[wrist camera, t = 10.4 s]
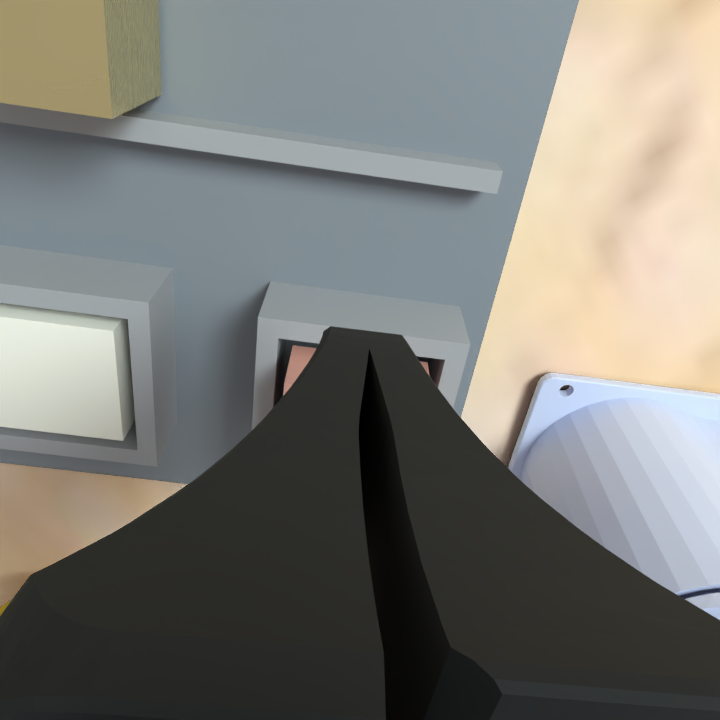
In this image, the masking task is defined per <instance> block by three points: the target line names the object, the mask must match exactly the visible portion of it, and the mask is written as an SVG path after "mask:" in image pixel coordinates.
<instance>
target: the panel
mask: <svg viewBox="0 0 720 720" xmlns="http://www.w3.org/2000/svg"><path fill="white" fill-rule="evenodd" d="M578 1H579V0H159V30H160V60H161V90H162V94H161V95H159V96H157V97H155V98H153V99H151V100H149V101H147V102H145V103H143V104H141V105H139V106H137V107H135V108H133V109H131V110H129V111H127V112H125V113H123V114H121V115H119V116H117V117H115V118H113V119H108V118H101V117H95V116H88V115H81V114H74V113H67V112H61V111H54V110H47V109H40V108H33V107H26V106H20V105H13V104H6V103H0V303H6V304H14V305H22V306H29V307H37V308H45V309H53V310H61V311H68V312H76V313H84V314H92V315H100V316H107V317H115V318H123V319H128V329H129V342H130V356H131V369H132V383H133V396H134V409H135V420H134V422H133V424H132V426H131V428H130V430H129V431H128V433H127V435H126V437H125V439H124V440H123V441H119V440H111V439H102V438H94V437H85V436H76V435H68V434H59V433H51V432H42V431H34V430H25V429H17V428H8V427H0V463H9V464H18V465H27V466H36V467H44V468H53V469H62V470H71V471H80V472H88V473H97V474H106V475H115V476H124V477H132V478H141V479H150V480H159V481H168V482H176V483H185V484H189V483H190V482H192V481H193V480H194V479H196V478H197V477H198V476H200V475H201V474H202V473H204V472H205V471H206V470H207V469H208V468H210V467H211V466H212V465H213V464H215V463H216V462H217V461H218V460H220V459H221V458H222V457H223V456H224V455H226V454H227V453H228V452H229V451H230V450H231V449H233V448H234V447H235V446H236V445H237V444H238V443H239V442H240V441H241V440H242V439H243V438H245V437H246V436H247V435H248V434H249V433H250V432H251V431H252V430H253V429H254V428H255V427H256V426H257V425H258V424H259V423H260V422H261V421H262V420H263V419H264V418H265V416H266V415H267V414H268V413H269V412H270V411H271V410H272V408H273V407H274V406H275V405H276V404H277V403H278V402H279V400H280V399H281V398H282V397H283V392H284V382H285V378H286V373H287V369H288V364H289V360H290V356H291V351H292V347H293V345H296V346H303V347H311V348H317V347H318V345H319V343H320V340H321V338H322V335H323V331H325V330H326V329H327V328H329V327H330V326H334V327H342V328H350V329H358V330H367V331H375V332H383V333H391V334H399V335H402V336H403V337H404V338H405V340H406V341H407V343H408V344H409V346H410V347H411V349H412V350H413V352H414V353H415V355H416V357H417V358H418V360H419V361H421V362H428V369H429V375H430V378H431V379H432V380H433V382H434V383H435V385H436V386H437V387H438V389H439V390H440V392H441V393H442V394H443V396H444V397H445V398H446V400H447V401H448V402H449V404H450V405H451V406H452V408H453V409H454V410H455V412H456V413H457V414H458V415H459V416H460V418H461V414H462V411H463V407H464V404H465V400H466V397H467V393H468V390H469V386H470V383H471V379H472V376H473V372H474V368H475V365H476V361H477V358H478V354H479V351H480V347H481V344H482V340H483V337H484V333H485V330H486V326H487V323H488V319H489V316H490V312H491V308H492V305H493V301H494V298H495V294H496V291H497V287H498V284H499V280H500V277H501V273H502V270H503V266H504V263H505V259H506V255H507V252H508V248H509V245H510V241H511V238H512V234H513V231H514V227H515V224H516V220H517V217H518V213H519V210H520V206H521V203H522V199H523V195H524V192H525V188H526V185H527V181H528V178H529V174H530V171H531V167H532V164H533V160H534V157H535V153H536V150H537V146H538V143H539V139H540V135H541V132H542V128H543V125H544V121H545V118H546V114H547V111H548V107H549V104H550V100H551V97H552V93H553V90H554V86H555V83H556V79H557V75H558V72H559V68H560V65H561V61H562V58H563V54H564V51H565V47H566V44H567V40H568V37H569V33H570V30H571V26H572V23H573V19H574V15H575V12H576V8H577V5H578Z"/></svg>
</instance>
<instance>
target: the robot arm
mask: <svg viewBox="0 0 720 720" xmlns="http://www.w3.org/2000/svg"><path fill="white" fill-rule="evenodd" d="M564 385H570V387H569V388H568V389H566V390H562V391H561V390H560V388H561V387H562V386H564ZM0 720H720V394H716V393H709V392H701V391H693V390H685V389H677V388H670V387H662V386H654V385H646V384H638V383H631V382H623V381H615V380H607V379H599V378H592V377H584V376H576V375H568V374H560V373H548V374H546V375H544V376H542V377H541V378H540V380H539V381H538V383H537V386H536V389H535V392H534V395H533V398H532V400H531V403H530V406H529V409H528V412H527V415H526V417H525V420H524V423H523V426H522V429H521V431H520V434H519V437H518V440H517V443H516V446H515V448H514V451H513V454H512V457H511V460H510V462H509V465H508V468H507V467H506V466H505V465H504V464H503V463H502V462H501V461H500V460H499V459H498V458H497V457H496V456H495V455H494V454H493V453H492V452H491V451H490V450H489V449H488V448H487V447H486V446H485V445H484V444H483V443H482V442H481V441H480V440H479V438H478V437H477V436H476V435H475V434H474V433H473V432H472V430H471V429H470V428H469V427H468V426H467V425H466V423H465V422H464V421H463V420H462V419H461V418H460V416H459V415H458V414H457V413H456V412H455V410H454V409H453V408H452V406H451V405H450V404H449V402H448V401H447V400H446V398H445V397H444V396H443V394H442V393H441V392H440V390H439V389H438V387H437V386H436V385H435V383H434V382H433V380H432V379H431V378H430V376H429V375H428V373H427V372H426V370H425V369H424V367H423V366H422V364H421V363H420V361H419V360H418V358H417V357H416V355H415V353H414V352H413V350H412V349H411V347H410V346H409V344H408V343H407V341H406V340H405V338H404V337H403V336H402V335H399V334H391V333H383V332H375V331H367V330H358V329H350V328H342V327H334V326H330V327H329V328H327V329H326V330H325V331H323V335H322V338H321V340H320V343H319V345H318V347H317V349H316V350H315V352H314V354H313V355H312V357H311V359H310V360H309V362H308V364H307V365H306V366H305V368H304V369H303V371H302V372H301V373H300V375H299V376H298V378H297V379H296V380H295V382H294V383H293V385H292V386H291V387H290V389H289V390H288V391H287V392H286V393H285V395H284V396H283V397H282V398H281V399H280V400H279V402H278V403H277V404H276V405H275V406H274V407H273V408H272V410H271V411H270V412H269V413H268V414H267V415H266V416H265V418H264V419H263V420H262V421H261V422H260V423H259V424H258V425H257V426H256V427H255V428H254V429H253V430H252V431H251V432H250V433H249V434H248V435H247V436H246V437H245V438H243V439H242V440H241V441H240V442H239V443H238V444H237V445H236V446H235V447H234V448H233V449H231V450H230V451H229V452H228V453H227V454H226V455H224V456H223V457H222V458H221V459H220V460H218V461H217V462H216V463H215V464H213V465H212V466H211V467H210V468H208V469H207V470H206V471H205V472H204V473H202V474H201V475H200V476H198V477H197V478H196V479H194V480H193V481H192V482H190V483H189V484H188V485H186V486H185V487H184V488H182V489H181V490H179V491H178V492H176V493H175V494H173V495H172V496H170V497H169V498H167V499H166V500H164V501H163V502H161V503H160V504H158V505H156V506H155V507H153V508H152V509H150V510H149V511H147V512H146V513H144V514H143V515H141V516H140V517H138V518H137V519H135V520H133V521H132V522H130V523H129V524H127V525H125V526H124V527H122V528H120V529H119V530H117V531H115V532H114V533H112V534H110V535H108V536H106V537H104V538H102V539H100V540H98V541H97V542H95V543H93V544H91V545H89V546H87V547H85V548H83V549H81V550H79V551H77V552H75V553H73V554H72V555H70V556H68V557H66V558H64V559H62V560H60V561H58V562H56V563H54V564H52V565H50V566H48V567H46V568H44V569H42V570H40V571H38V572H36V573H34V574H32V575H30V577H29V578H28V579H27V581H26V582H25V583H24V585H23V586H22V587H21V589H20V590H19V591H18V593H17V594H16V595H15V597H14V598H13V599H12V601H11V602H10V603H9V605H8V606H7V607H6V609H5V610H4V611H3V613H2V614H1V616H0Z"/></svg>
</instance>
